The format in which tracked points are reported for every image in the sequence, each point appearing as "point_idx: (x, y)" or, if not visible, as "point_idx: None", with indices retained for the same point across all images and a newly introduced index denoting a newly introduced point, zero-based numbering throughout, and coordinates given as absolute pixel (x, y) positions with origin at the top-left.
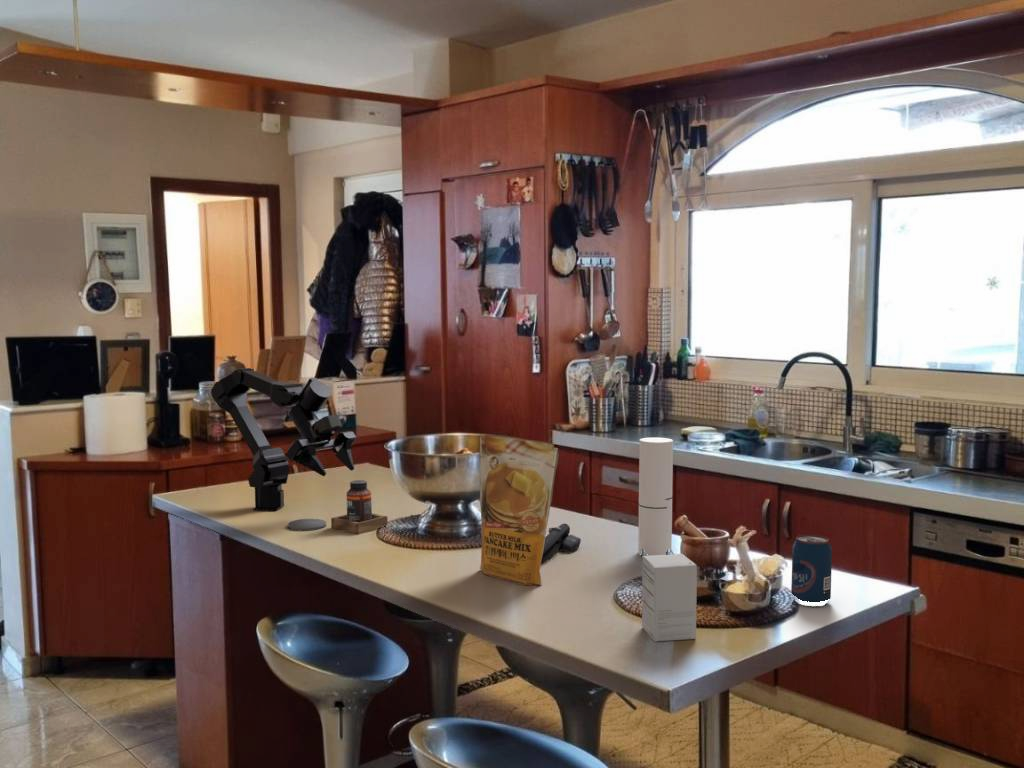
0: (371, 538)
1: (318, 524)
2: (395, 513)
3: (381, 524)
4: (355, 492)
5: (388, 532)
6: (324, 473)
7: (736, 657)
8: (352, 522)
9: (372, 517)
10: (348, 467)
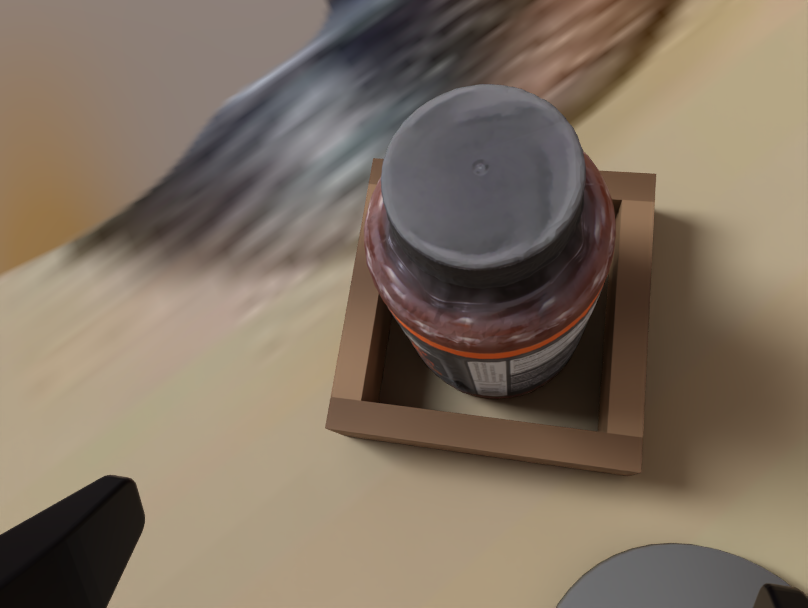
0: (671, 86)
1: (678, 583)
2: (70, 369)
3: None
4: (586, 175)
5: None
6: (804, 601)
7: None
8: (651, 235)
9: None
10: (105, 596)
